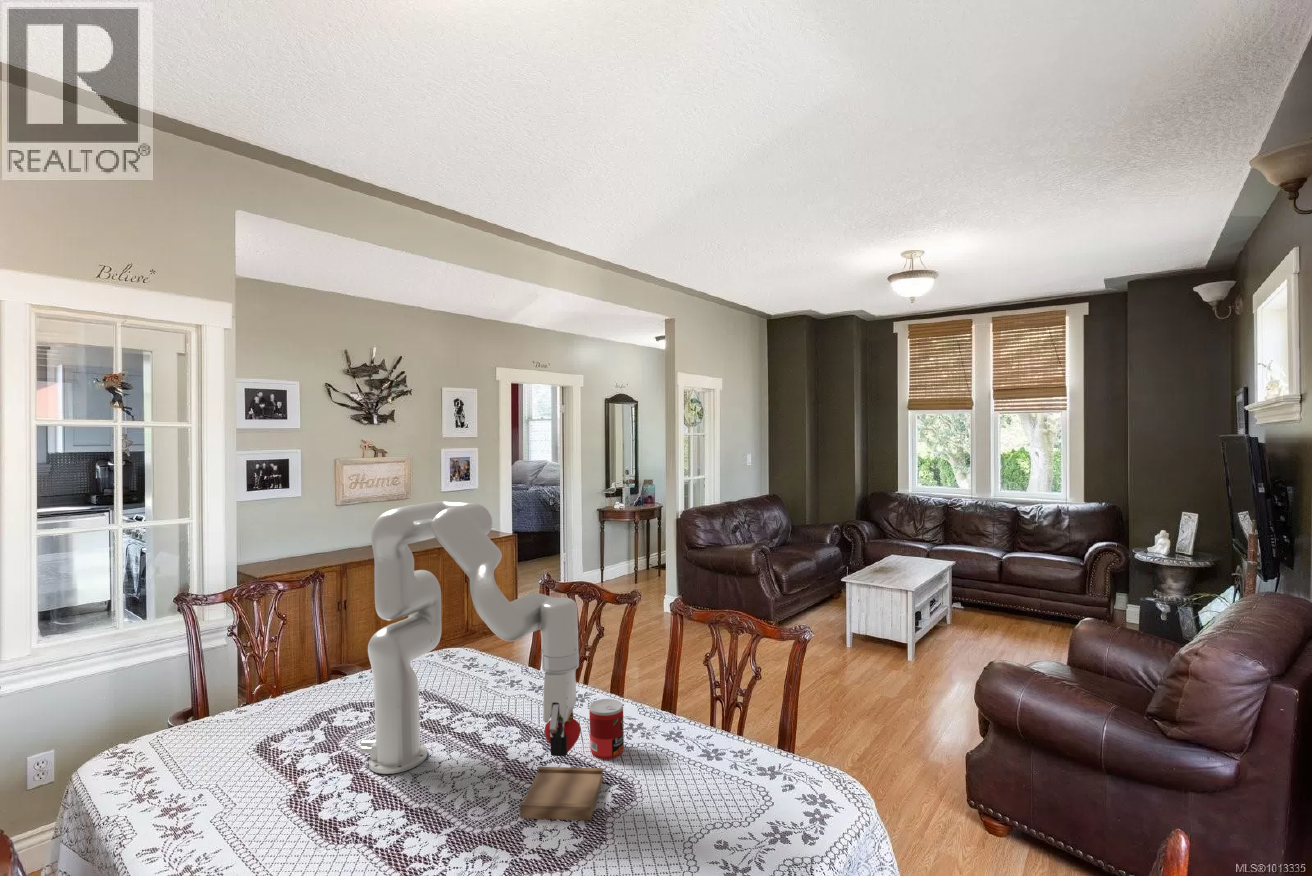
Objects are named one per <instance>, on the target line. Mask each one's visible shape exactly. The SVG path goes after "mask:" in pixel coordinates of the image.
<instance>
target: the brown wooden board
mask: <svg viewBox="0 0 1312 876" xmlns="http://www.w3.org/2000/svg"><path fill="white" fill-rule="evenodd" d="M603 769H604V768H603V767H602V768H601V767H599V768H598V767H597V768H596V767H566V766H564V767H563V766H562V767H561V766H539V767H538V768H537V773H536V775H535V777H534V780H533V781H532V784H531V785H530V787H529V790H528V791H527V793H526V796H525V798H524V800H523V801H521V802H520V805H519V807H520V808H519V811H520V812H519V816H520V819H533V820H534V819H535V820H536V819H537V820H538V819H540V820H562V821H563V820H565V821H566V820H567V821H592V818H593V814H594V811H595V808H596V805H597V801H598V797H599V795H600V791H601V788H602V784H603V781H604V774H603V773H604V772H603V771H604V770H603Z"/></svg>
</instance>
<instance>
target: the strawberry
mask: <svg viewBox="0 0 1312 876" xmlns="http://www.w3.org/2000/svg"><path fill="white" fill-rule="evenodd" d="M558 720H563V717H558ZM550 721H551V719H550V720H549V721H548V722H546V724H545V725H544V734H545V735H544V736H545V738H546V741H547V742H548V743H549V745H550V746H551V743H550ZM558 727H560V728H561V727H562V724H558ZM580 734H581V726H580V722H579V721H578V720H577V719H575V716H574V715H573V716H570V717H569V719H568V720H567V721H566V723H565V735H567V754H568V753H569V752H570V751H571V749H572V748H574V746H575V745H576V743H577V742H578V740H579V738H580Z"/></svg>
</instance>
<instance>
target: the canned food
mask: <svg viewBox="0 0 1312 876" xmlns="http://www.w3.org/2000/svg"><path fill="white" fill-rule="evenodd" d="M588 709H589V743H590V745H589V747H590V753H591V755H592V756H593V757H595V758H596V759H600V760H613V759H616V758H618V757H621V755H622V754H624V753H623V752H624V748H625V735H624V733H625V731H624V704H623V703H622V702H621V701H620V700H617V699H614V698H601V699H597V700H595V701H593V702H591V703H590V704H589V708H588Z"/></svg>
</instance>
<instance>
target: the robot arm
mask: <svg viewBox="0 0 1312 876" xmlns="http://www.w3.org/2000/svg"><path fill="white" fill-rule="evenodd" d="M492 518H493V516H491V513H490V511H489V510H488V509H487V507H485V506H484V505H482V504H480V503H476V502H459V501H444V500H443V501H440V500H439V501H429V502H423V503H419V504H411V505H406V506H400V507H399V506H398V507H396V508H393V509H390V510H387V511H385V512H383V513H382V514H380V515H379V516H378V517H377V519H376V520H375V521H374V523H373V526H372V528H371V531H370V532H371V533H370V539H371V547H372V553H373V559H374V571H373V573H374V606H375V611H376V614H377V616H378V617H379V618H380V619H381V620H385V621H394V620H399V619H402V618H405V617H407V618H405V619H403V620H399V621H397V622H394V623H391V624H388V625H386V626H384V627H382V628H381V629H378V630H377V631H376V632H375V633H373V635H372V636H371V638H370V639H369V641H368V645H367V655H368V659H369V663H370V667H371V672H372V681H373V697H374V699H373V700H374V701H373V702H374V726H375V727H374V732H375V739H362V741H361V742H360V743H361V744H360V754H370V755H371V756H370V757H369V759H368V768H369V769H370V771H372V772H374V773H376V774H382V775H390V774H391V775H392V774H397V773H398V774H399V773H403V772H407V771H409V770H411V769H413V768H416V767H417V766H419V765H420V764H421V763H423V762H424V761H425V760H426V758H427V756H428V748H427V746H426V745H425V744H424V743H421V727H420V698H419V697H420V696H419V693H420V689H419V679H418V676H417V674H416V672H415V671H414V669H413V667H412V666H411V662H413V660H416V659H417V658H420V657H422V656H423V655H426V654H428V653H429V652H431V651H433V650H435V648H436V647H437V646H438V645H439V643H440V640H441V637H442V591H441V590H442V588H441V584H440V582H439V580H438V578H437V577H436V575H434V574H433V573H432V572H431V571H429V570H425V569H418V570H415V557H414V555H413V552H412V550H411V548H410V547H409V544H413V543H418V542H423V541H427V540H432V539H436V540H437V541H438V542H439V544H440V545H441V546H442V547H443V548H444V549H445V551H446V552H447V553H448V554H449V556H450V557H451V558H452V560H454V561H455V562H456V564H457V565H458V566H459V568H460V569H461V570H462V571H463V572H464V574H465V575H466V576H467V577H468V579H469V591H470V597H471V600H472V604H473V608H474V610H475V611H476V614H477V615H478V616H479V617H480V619H481V620H482V621H483V622H484V624H486V626H487V628H489V630H491V632H492V633H493V634H494V635H496V636H497V637H498V638H499V639H501V640H503V641H506V642H516V641H518V640H521V639H523V638H525V637H526V636H528V635H530V634H532V633H534V632H537V631H538V630H539V631H540V635H541V636H540V644H541V648H540V649H541V670H542V671H543V672H544V679H543V680H544V681H543V698H542V699H543V700H542V701H543V702H542V703H543V704H542V705H543V707H542V712H543V713H542V719H543V722H544V723H548V722H549V721H550V720H551V721H550V743H551V745H550V756H551V757H566V756H567V754H568V753H567V735H565V723H566V721H567V720H568V719H569V717H570V716H574V709H575V706H576V701H577V683H576V682H577V681H576V670H577V669H578V668H579V667H580V659H579V658H580V657H579V654H580V653H579V623H578V621H579V619H578V617H579V616H578V605H577V602H576V601H575V600H573V599H572V598H568V597H553V596H551V595H550V596H549V595H547V594H543V593H538V592H531V593H527V594H526V595H523V596H520V597H518V598H516V599H514V600H511V601H509V600H508V598H507V597H506V596H505V595H504V593H503V592H502V591H501V590H500V588H499V587H498V585H497V583H496V580H495V579H496V578H495V570H496V568H497V567H498V566H499V564H500V562H501V561H502V557H503V554H502V550H500V549H499V547H498V546H497V545H496V544H495V543H494V541H493V540H491V538H490V536H488V534H490V532H491V531H492V527H493V519H492ZM558 717H563V720H558ZM558 724H562V727H561V728H560V727H558ZM550 743H549V744H550Z"/></svg>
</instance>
